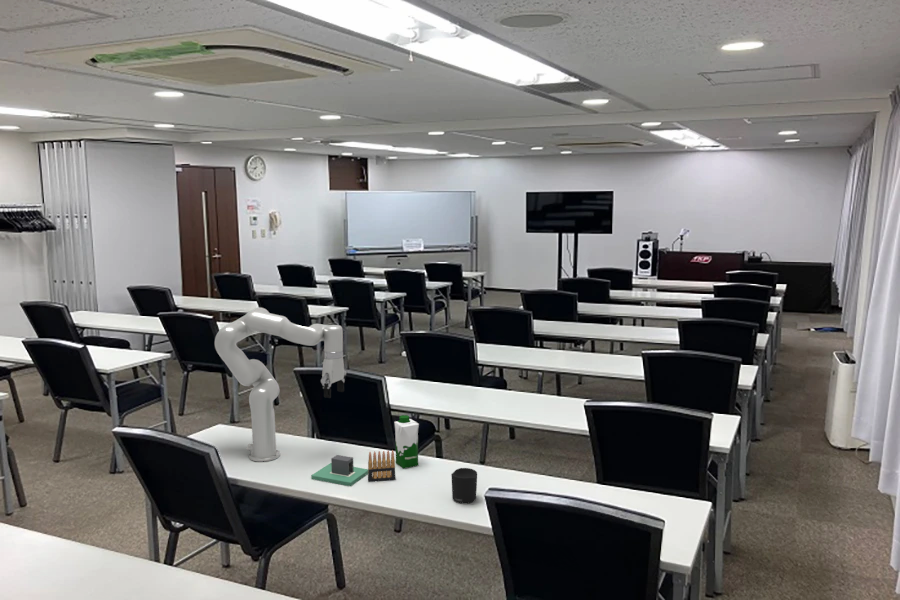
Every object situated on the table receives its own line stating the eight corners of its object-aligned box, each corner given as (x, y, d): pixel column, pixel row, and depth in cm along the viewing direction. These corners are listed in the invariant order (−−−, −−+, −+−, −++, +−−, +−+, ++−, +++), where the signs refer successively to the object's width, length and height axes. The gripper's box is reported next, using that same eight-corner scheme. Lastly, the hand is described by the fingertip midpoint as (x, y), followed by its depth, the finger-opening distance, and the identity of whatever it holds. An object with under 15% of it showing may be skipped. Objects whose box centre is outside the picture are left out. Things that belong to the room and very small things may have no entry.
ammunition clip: (395, 478, 265) (394, 448, 263) (395, 479, 263) (395, 450, 261) (367, 480, 263) (367, 450, 261) (368, 482, 261) (367, 452, 259)
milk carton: (411, 458, 285) (411, 413, 282) (421, 466, 277) (421, 419, 274) (392, 462, 280) (392, 416, 277) (402, 470, 273) (401, 422, 270)
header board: (311, 478, 264) (310, 466, 263) (331, 466, 277) (330, 453, 276) (350, 486, 257) (350, 473, 256) (369, 473, 270) (368, 460, 269)
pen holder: (447, 496, 249) (447, 470, 247) (470, 491, 252) (470, 466, 251) (457, 506, 240) (457, 479, 239) (481, 501, 244) (481, 475, 242)
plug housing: (331, 472, 266) (331, 458, 265) (337, 469, 270) (337, 454, 269) (347, 475, 263) (347, 461, 262) (353, 472, 267) (353, 457, 266)
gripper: (337, 349, 289) (338, 388, 292) (313, 358, 274) (314, 398, 276) (352, 351, 286) (352, 390, 289) (329, 360, 271) (329, 401, 273)
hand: (334, 394), depth 282 cm, fingers open, 9 cm apart
